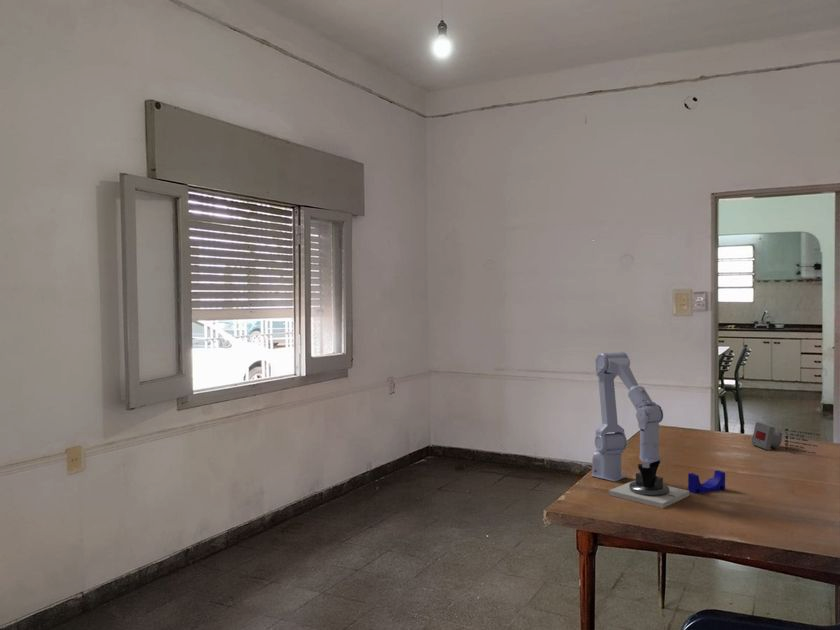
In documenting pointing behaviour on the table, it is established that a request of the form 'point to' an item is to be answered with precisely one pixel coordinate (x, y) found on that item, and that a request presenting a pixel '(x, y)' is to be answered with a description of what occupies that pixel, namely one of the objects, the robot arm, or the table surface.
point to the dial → (655, 490)
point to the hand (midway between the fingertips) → (649, 485)
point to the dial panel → (649, 496)
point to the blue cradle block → (706, 483)
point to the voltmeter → (772, 437)
